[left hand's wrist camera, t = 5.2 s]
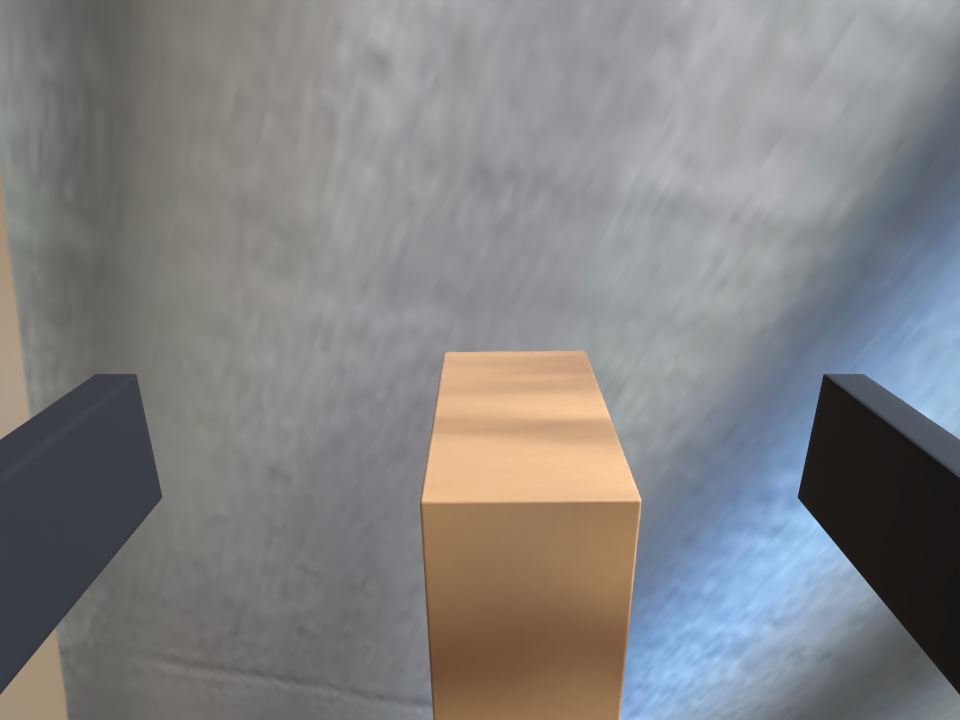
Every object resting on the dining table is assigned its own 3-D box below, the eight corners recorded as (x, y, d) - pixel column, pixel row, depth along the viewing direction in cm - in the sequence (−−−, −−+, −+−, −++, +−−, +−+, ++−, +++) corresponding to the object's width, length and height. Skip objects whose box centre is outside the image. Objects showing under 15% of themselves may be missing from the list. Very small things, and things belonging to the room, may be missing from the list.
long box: (443, 351, 27) (419, 501, 17) (585, 350, 27) (642, 499, 17) (460, 761, 37) (450, 1003, 27) (563, 761, 37) (591, 1004, 27)
